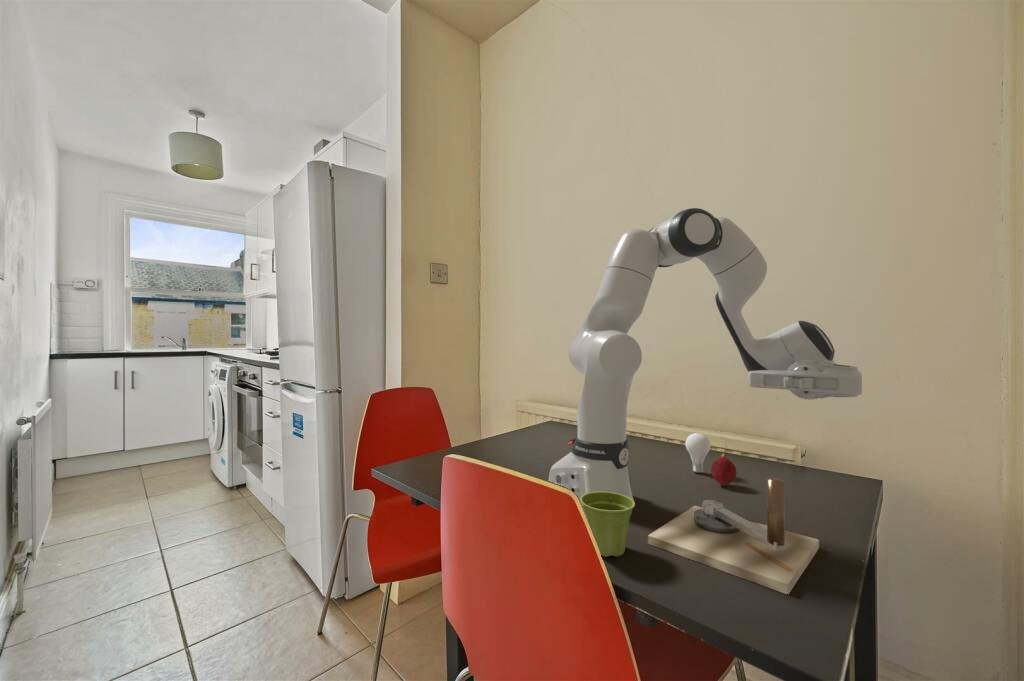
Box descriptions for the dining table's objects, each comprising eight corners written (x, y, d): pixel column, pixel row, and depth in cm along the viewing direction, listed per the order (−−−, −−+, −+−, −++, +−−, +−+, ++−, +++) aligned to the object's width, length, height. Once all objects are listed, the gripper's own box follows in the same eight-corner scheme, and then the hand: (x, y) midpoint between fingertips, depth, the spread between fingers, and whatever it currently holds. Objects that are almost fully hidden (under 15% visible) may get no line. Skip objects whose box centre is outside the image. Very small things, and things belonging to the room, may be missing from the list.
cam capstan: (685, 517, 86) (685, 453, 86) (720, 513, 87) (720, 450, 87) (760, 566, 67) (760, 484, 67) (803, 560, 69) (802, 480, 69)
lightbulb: (681, 469, 122) (681, 431, 122) (702, 469, 123) (702, 430, 123) (692, 477, 116) (692, 436, 116) (715, 476, 117) (715, 435, 117)
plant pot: (596, 532, 83) (596, 487, 83) (643, 547, 77) (643, 498, 77) (570, 551, 76) (570, 501, 76) (620, 569, 70) (620, 515, 70)
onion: (739, 490, 106) (739, 458, 106) (714, 489, 107) (714, 456, 107) (732, 482, 111) (732, 451, 111) (708, 481, 112) (708, 450, 112)
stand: (647, 543, 78) (647, 534, 78) (694, 512, 92) (694, 504, 92) (788, 594, 63) (788, 583, 63) (819, 548, 76) (819, 538, 76)
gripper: (757, 363, 104) (737, 366, 94) (867, 366, 89) (856, 370, 80) (758, 389, 104) (737, 394, 94) (867, 397, 89) (856, 404, 80)
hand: (793, 383), depth 87 cm, fingers closed
